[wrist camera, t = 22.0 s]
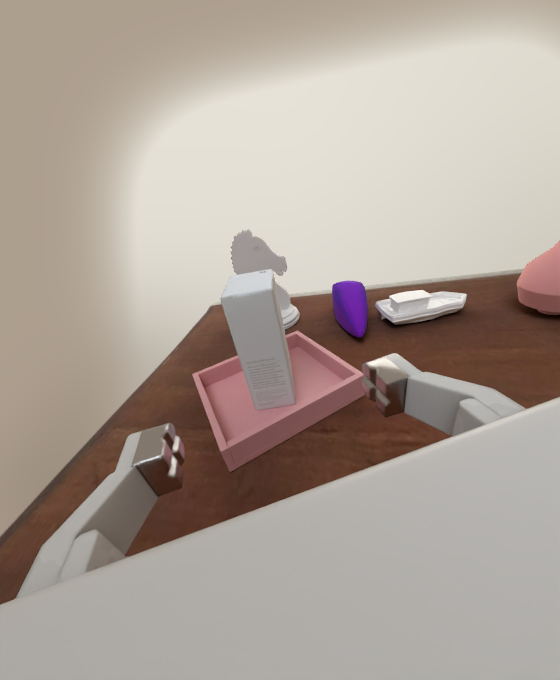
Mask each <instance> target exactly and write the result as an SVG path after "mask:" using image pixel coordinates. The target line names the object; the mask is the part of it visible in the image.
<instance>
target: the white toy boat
mask: <svg viewBox="0 0 560 680" xmlns="http://www.w3.org/2000/svg"><path fill="white" fill-rule="evenodd" d="M466 296H467V294H461V293H452V292H437V293H431V294H429V293H427V292H425V291H423V290H418V291H408V292H403V293H398V294H395V295H391V296H389V298H390V299H387V300H381V301H377V303H376V305H375V306H376V307H377V309H378V310H379V311H380V313H381V314H382V319H384V318H387V319H388V320H390V321H391V322H392V323H394V324H395V325H397V324H406V323H413V322H419V321H425V320H430V319H434V318H436V317H439V316H442V315H445V314H449V313H453V312H456V311H458V310H460V309H461V308H463V305H464V303H465V300H466Z"/></svg>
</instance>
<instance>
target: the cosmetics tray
mask: <svg viewBox="0 0 560 680" xmlns="http://www.w3.org/2000/svg"><path fill="white" fill-rule="evenodd" d="M286 340H287V346H288V351H289V356H290V361H291V366H292V373H293V380H294V388H295V398H296V404H294V405H289V406H282V407H276V408H269V409H263V410H255V407H254V404H253V401H252V398H251V395H250V392H249V389H248V385H247V382H246V379H245V376H244V373H243V370H242V366H241V363H240V360H239V357H238V355H237V356H235V357H233V358H230V359H228V360H225V361H223V362H221V363H218V364H216V365H213V366H211V367H208V368H206V369H204V370H201V371H199V372H198V373H197V372H196V373H194V374H192V375H193V378H194V381H195V383H196V386H197V389H198V392H199V394H200V397H201V400H202V403H203V405H204V408H205V411H206V413H207V416H208V419H209V422H210V424H211V427H212V430H213V433H214V435H215V438H216V441H217V444H218V446H219V449H220V452H221V454H222V456H223V458H224V461H225V463H226V465H227V467H228V469H229V472H231V471H233V470H235V469H237V468H238V467H240V466H242V465H244V464H245V463H247V462H249V461H251V460H252V459H254V458H256V457H258V456H259V455H261V454H263V453H265V452H266V451H268V450H270V449H272V448H273V447H275V446H277V445H278V444H280V443H282V442H284V441H285V440H287V439H289V438H291V437H292V436H294V435H296V434H298V433H299V432H301V431H303V430H305V429H306V428H308V427H310V426H312V425H313V424H315V423H317V422H319V421H320V420H322V419H324V418H326V417H327V416H329V415H331V414H332V413H334V412H336V411H338V410H339V409H341V408H343V407H345V406H346V405H348V404H350V403H352V402H353V401H355V400H357V399H359V398H360V397H362V396H364V395H365V392H364V390H363V387H362V378H363V377H364V374H363V373H362V372H360V371H359V370H357V369H355V368H354V367H352V366H351V365H349V364H348V363H346V362H345V361H343V360H342V359H340V358H339V357H337V356H336V355H334V354H332V353H331V352H329V351H328V350H326V349H325V348H323V347H322V346H320V345H319V344H317V343H316V342H314V341H313V340H311V339H309V338H308V337H306V336H305V335H303V334H302V333H300V332H299V331H296V332H293V333H291V334H288V335H286Z"/></svg>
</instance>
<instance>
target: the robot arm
mask: <svg viewBox="0 0 560 680" xmlns="http://www.w3.org/2000/svg"><path fill="white" fill-rule="evenodd" d="M362 372H363V373H364V374H365V375H364V377H363V378H362V387H363V390H364V392H365V394H366V396H367V397H368V398H369V399H370V400H372V401H375V402H376V407H377V409H378V410H379V411H380V412H381V413H382V414H383V416H384V417H385V418H386V417H389V416H392V415H396V414H399V413H402V412H404V413H406V414H408V415H410V416H412V417H414V418H416V419H418V420H420V421H422V422H424V423H426V424H428V425H430V426H432V427H434V428H436V429H438V430H440V431H443V432H445V433H447V434H449V435H451V437H450V438H447V439H445V440H442V441H439V442H437V443H434V444H431V445H429V446H426V447H423V448H420V449H418V450H415V451H412V452H410V453H407V454H404V455H402V456H399V457H396V458H394V459H391V460H388V461H386V462H383V463H380V464H378V465H375V466H372V467H369V468H367V469H364V470H361V471H359V472H356V473H353V474H351V475H348V476H345V477H343V478H340V479H337V480H335V481H332V482H329V483H327V484H324V485H321V486H318V487H316V488H313V489H310V490H308V491H305V492H302V493H300V494H297V495H294V496H291V497H289V498H286V499H283V500H281V501H278V502H275V503H273V504H270V505H267V506H264V507H262V508H259V509H256V510H254V511H251V512H248V513H246V514H243V515H240V516H237V517H235V518H232V519H229V520H227V521H224V522H221V523H219V524H216V525H213V526H211V527H208V528H205V529H202V530H200V531H197V532H194V533H192V534H189V535H186V536H184V537H181V538H178V539H176V540H173V541H170V542H168V543H165V544H162V545H159V546H157V547H154V548H151V549H149V550H146V551H143V552H141V553H138V554H135V555H133V556H130V557H126V556H125V554H126V552H127V551H128V549H129V547H130V545H131V544H132V542H133V540H134V539H135V537H136V535H137V534H138V532H139V530H140V529H141V527H142V525H143V523H144V522H145V520H146V518H147V517H148V515H149V513H150V512H151V510H152V508H153V507H154V505H155V503H156V501H157V500H158V497H159V496H161V495H164V494H167V493H169V492H172V491H175V490H177V489H180V488H182V481H183V470H182V468H181V465H182V464H183V462H184V461H185V450H184V445H183V442H182V440H181V438H180V437H179V436H177V435H175V432H176V429H175V427H174V425H173V424H172V423H167V424H164V425H160V426H157V427H153V428H150V429H146V430H144V431H140V432H137V433H133V434H130V435H129V436H128V437H127V440H126V442H125V445H124V448H123V450H122V453H121V456H120V459H119V461H118V464H117V467H116V470H115V472H114V473H112V474H110V475H109V476H108V477H107V478H106V479H105V480H104V481H103V482H102V483H101V484H100V485H99V486H98V487H97V488H96V489H95V491H94V492H93V493H92V494H91V495H90V496H89V497H88V498H87V499H86V500H85V501H84V502H83V503H82V504H81V505H80V506H79V507H78V509H77V510H76V511H75V512H74V513H73V514H72V515H71V516H70V517H69V518H68V519H67V520H66V521H65V522H64V523H63V524H62V525H61V527H60V528H59V529H58V530H57V531H56V532H55V533H54V534H53V535H52V536H51V537H50V538H49V539H48V540H47V541H46V542H45V543H44V545H43V546H42V547H41V549H40V551H39V553H38V555H37V557H36V559H35V561H34V563H33V565H32V567H31V569H30V571H29V573H28V575H27V577H26V579H25V581H24V583H23V585H22V587H21V589H20V591H19V593H18V595H17V597H16V599H14V600H11V601H9V602H6V603H3V604H1V605H0V680H560V397H558V398H555V399H553V400H550V401H547V402H544V403H542V404H539V405H536V406H534V407H531V408H528V409H525V408H524V407H522V406H521V405H519V404H517V403H516V402H514V401H512V400H511V399H509V398H508V397H506V396H504V395H503V394H501V393H500V392H498V391H496V390H495V389H493V388H489V387H485V386H481V385H477V384H473V383H469V382H465V381H461V380H457V379H453V378H449V377H445V376H441V375H437V374H433V373H429V372H423V373H422V372H421V371H420V370H418V369H417V368H416V367H414V366H413V365H412V364H410V363H409V362H407V361H406V360H405V359H403V358H402V357H401V356H399V355H398V354H395V353H393V354H390V355H387V356H384V357H382V358H379V359H376V360H372V361H369V362H366V363H363V364H362Z"/></svg>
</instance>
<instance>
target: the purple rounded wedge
mask: <svg viewBox="0 0 560 680" xmlns="http://www.w3.org/2000/svg"><path fill="white" fill-rule="evenodd" d="M332 295H333V306H334V314H335V317H336V320H337V321H338V323H339V324H340V325H341V326H342V327H343V328H344V329H345V330H346V331H347V332H348V333H350V334H352V335H354V336H356V337H358V338H359V337H362V336H363V335H364V333H365V331H366V328H367V297H366V292H365V288H364V286H363V284H362V283H360V282H355V281H343V282H338V283H336V284H334V285H333V288H332Z"/></svg>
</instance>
